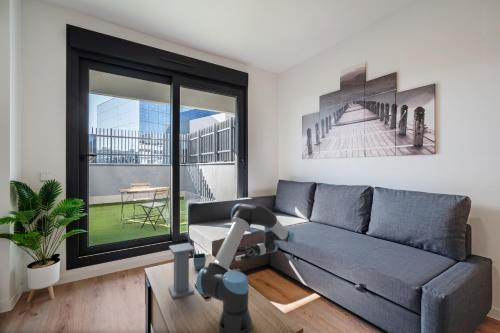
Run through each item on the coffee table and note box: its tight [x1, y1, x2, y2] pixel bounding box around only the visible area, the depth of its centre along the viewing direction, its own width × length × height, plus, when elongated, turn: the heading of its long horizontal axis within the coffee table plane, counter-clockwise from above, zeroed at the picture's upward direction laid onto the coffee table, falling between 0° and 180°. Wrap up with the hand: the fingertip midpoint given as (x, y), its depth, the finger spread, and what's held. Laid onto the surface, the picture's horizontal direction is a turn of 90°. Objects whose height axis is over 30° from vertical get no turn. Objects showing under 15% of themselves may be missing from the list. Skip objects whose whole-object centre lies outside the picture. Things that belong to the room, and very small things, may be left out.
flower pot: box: [192, 252, 207, 271], centre depth 167 cm, size 9×9×9 cm
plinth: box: [168, 242, 195, 300], centre depth 136 cm, size 12×12×26 cm
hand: (231, 255), depth 153 cm, fingers open, 13 cm apart
